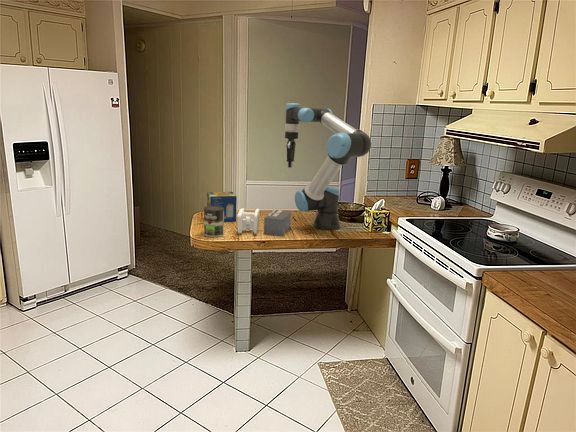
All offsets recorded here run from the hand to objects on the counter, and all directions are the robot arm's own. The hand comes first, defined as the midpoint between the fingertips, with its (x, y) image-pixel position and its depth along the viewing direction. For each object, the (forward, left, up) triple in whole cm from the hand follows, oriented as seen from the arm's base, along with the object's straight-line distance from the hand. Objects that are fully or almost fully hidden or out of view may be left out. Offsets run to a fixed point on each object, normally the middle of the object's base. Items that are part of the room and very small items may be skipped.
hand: (289, 172), depth 255 cm
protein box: (+36, +15, -29) cm, 48 cm away
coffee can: (+29, +42, -29) cm, 59 cm away
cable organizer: (+14, +31, -29) cm, 45 cm away
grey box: (0, +23, -28) cm, 37 cm away
